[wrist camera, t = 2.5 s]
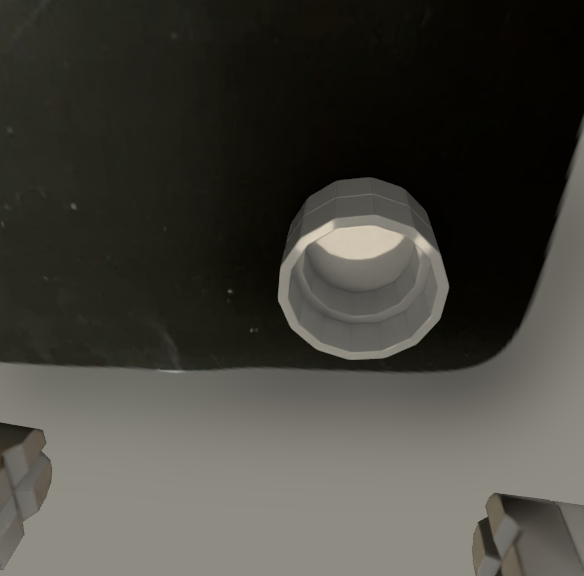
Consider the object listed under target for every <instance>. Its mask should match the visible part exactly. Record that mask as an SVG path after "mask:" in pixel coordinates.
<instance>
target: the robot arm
mask: <svg viewBox="0 0 584 576" xmlns="http://www.w3.org/2000/svg"><path fill="white" fill-rule="evenodd" d="M45 444H46V440H45V436H44V433H43V430H40V429H34V428H29V427H23V426H18V425H11V424H6V423H0V570H3V569H4V568H5V566H6V564H7V563H8V561H9V559H10V557H11V556H12V554H13V553H14V551H15V549H16V548H17V546H18V544H19V543H20V541H21V539H22V538H23V536H24V528H23V521H25V520H26V519H28V518H29V517H31V516H32V515H34V514H35V513H37V512H38V511H39V509H40V507H41V505H42V504H43V502H44V500H45V498H46V496H47V493H48V490H49V487H50V484H51V477H52V467H51V461H50V459H49V458H48V457H47V456H46V455H45V454H44V453H43V452H42V451H41V450H42V449H43V447H44V446H45ZM486 510H487V514H488V517H486V518H484V519H483V520H481V521H479V522H478V524H477V527H476V530H475V532H474V537H473V546H472V553H473V564H474V569H475V575H476V576H584V506H583V505H577V504H570V503H562V502H555V501H550V500H545V499H538V498H529V497H522V496H514V495H507V494H499V493H494V494H493V495H491V496H490V497H489V499H488V501H487V504H486Z"/></svg>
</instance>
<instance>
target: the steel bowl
mask: <svg viewBox="0 0 584 576" xmlns="http://www.w3.org/2000/svg"><path fill="white" fill-rule="evenodd" d="M448 290H449V284H448V280H447V276H446V272H445V269H444V265H443V261H442V257H441V254H440V251H439V248H438V245H437V242H436V239H435V236H434V233H433V230H432V227H431V224H430V221H429V218H428V215H427V212H426V210H425V209H424V208H423V207H422V206H421V205H420V204H419V203H418V202H417V201H416V200H415V199H414V198H413V197H412V196H411V195H410V194H409V193H408V192H407V191H406V190H405V189H403V188H402V187H399V186H396V185H393V184H390V183H387V182H384V181H382V180H379V179H376V178H371V177H367V178H357V179H347V180H338V181H335V182H333V183H332V184H330V185H328V186H327V187H325V188H323V189H322V190H320V191H318V192H316V193H315V194H313V195H311V196H310V197H308V199H307V200H306V201H305V203H304V204H303V206H302V207H301V209H300V211H299V212H298V214H297V215H296V217H295V218H294V220H293V221H292V223H291V225H290V229H289V233H288V238H287V242H286V246H285V250H284V254H283V258H282V263H281V267H280V277H279V289H278V301H279V303H280V305H281V307H282V310H283V312H284V314H285V316H286V318H287V321H288V323H289V325H290V327H291V328H292V330H294V331H295V332H296V333H297V334H298V335H300V336H301V337H302V338H303V339H304V340H306V341H307V342H308V343H309V344H310V345H312V346H313V347H314V348H315V349H317V350H320V351H323V352H326V353H329V354H332V355H336V356H339V357H342V358H345V359H348V360H349V359H350V360H357V359H377V358H384V357H385V358H386V357H388V356H391V355H393V354H395V353H398V352H400V351H402V350H404V349H407V348H409V347H411V346H414V345H416V344H417V343H418V342H419V341H420V340H421V339H422V338H423V337H424V336H425V335H426V334H427V333H428V332H429V331H430V330H431V328H432V327H433V326H434V325H435V324H436V323H437V322H438V321H439V320H440V318H441V315H442V311H443V308H444V304H445V301H446V297H447V293H448Z"/></svg>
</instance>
